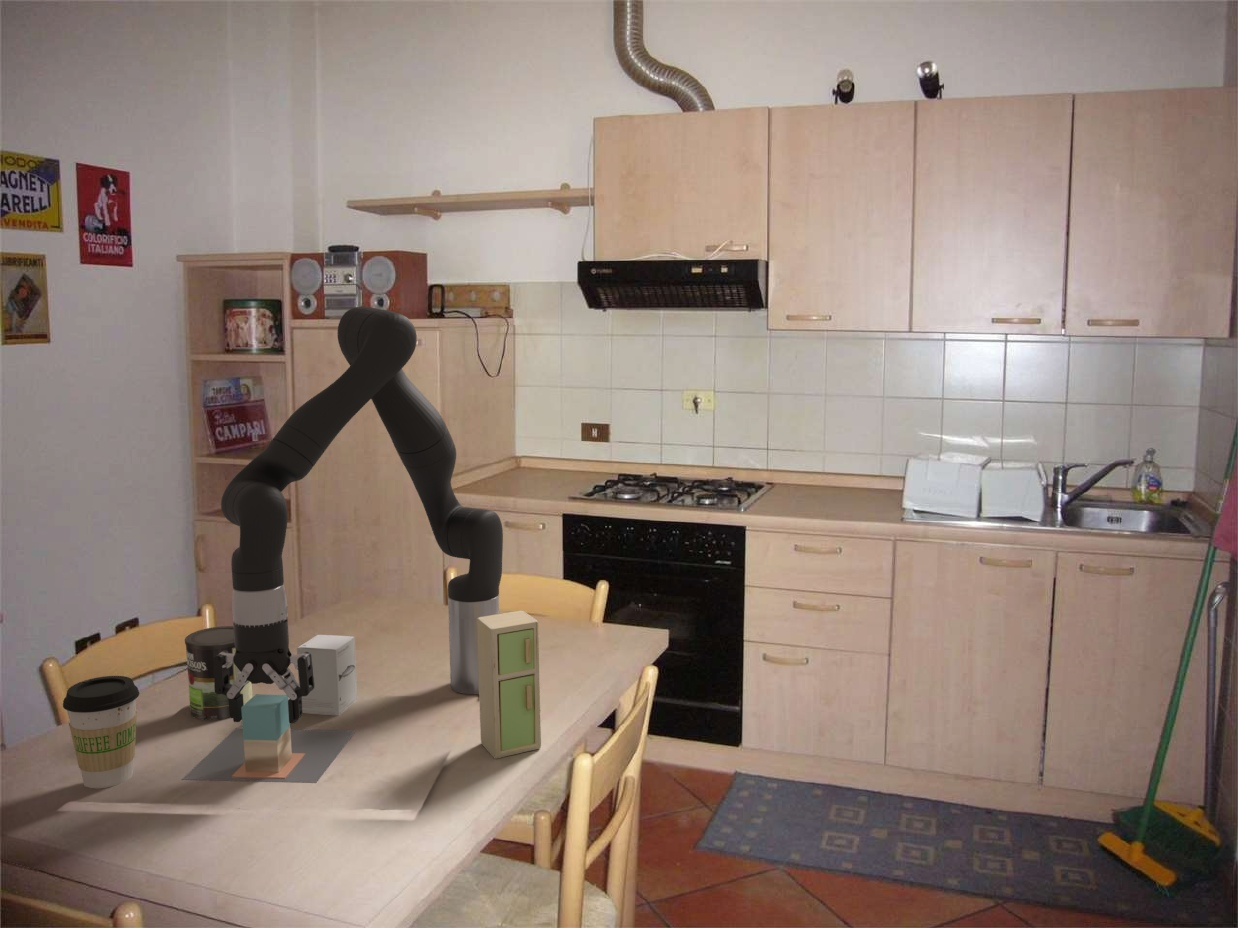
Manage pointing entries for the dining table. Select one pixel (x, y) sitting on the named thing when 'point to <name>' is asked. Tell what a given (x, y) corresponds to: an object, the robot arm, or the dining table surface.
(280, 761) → the ash block
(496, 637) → the toy refrigerator
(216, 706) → the coffee can
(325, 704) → the supplement box
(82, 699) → the coffee cup
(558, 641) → the dining table surface
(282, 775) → the baseplate
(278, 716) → the teal block
